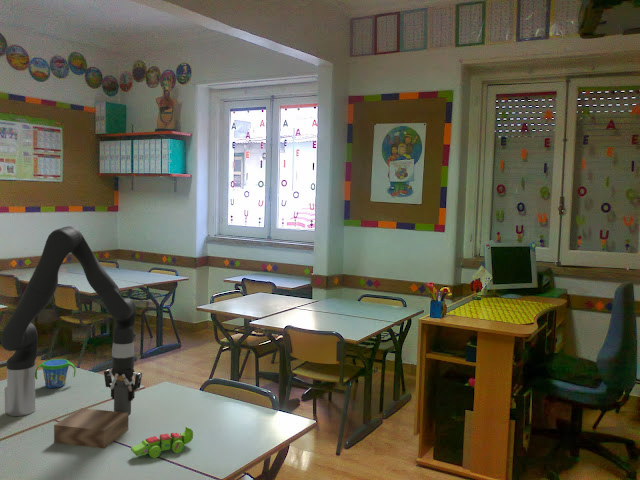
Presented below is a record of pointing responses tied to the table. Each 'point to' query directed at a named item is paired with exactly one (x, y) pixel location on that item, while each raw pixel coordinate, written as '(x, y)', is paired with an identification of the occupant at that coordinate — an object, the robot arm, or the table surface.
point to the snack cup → (55, 372)
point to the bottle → (121, 396)
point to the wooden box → (91, 428)
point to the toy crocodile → (163, 443)
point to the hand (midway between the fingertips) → (122, 399)
